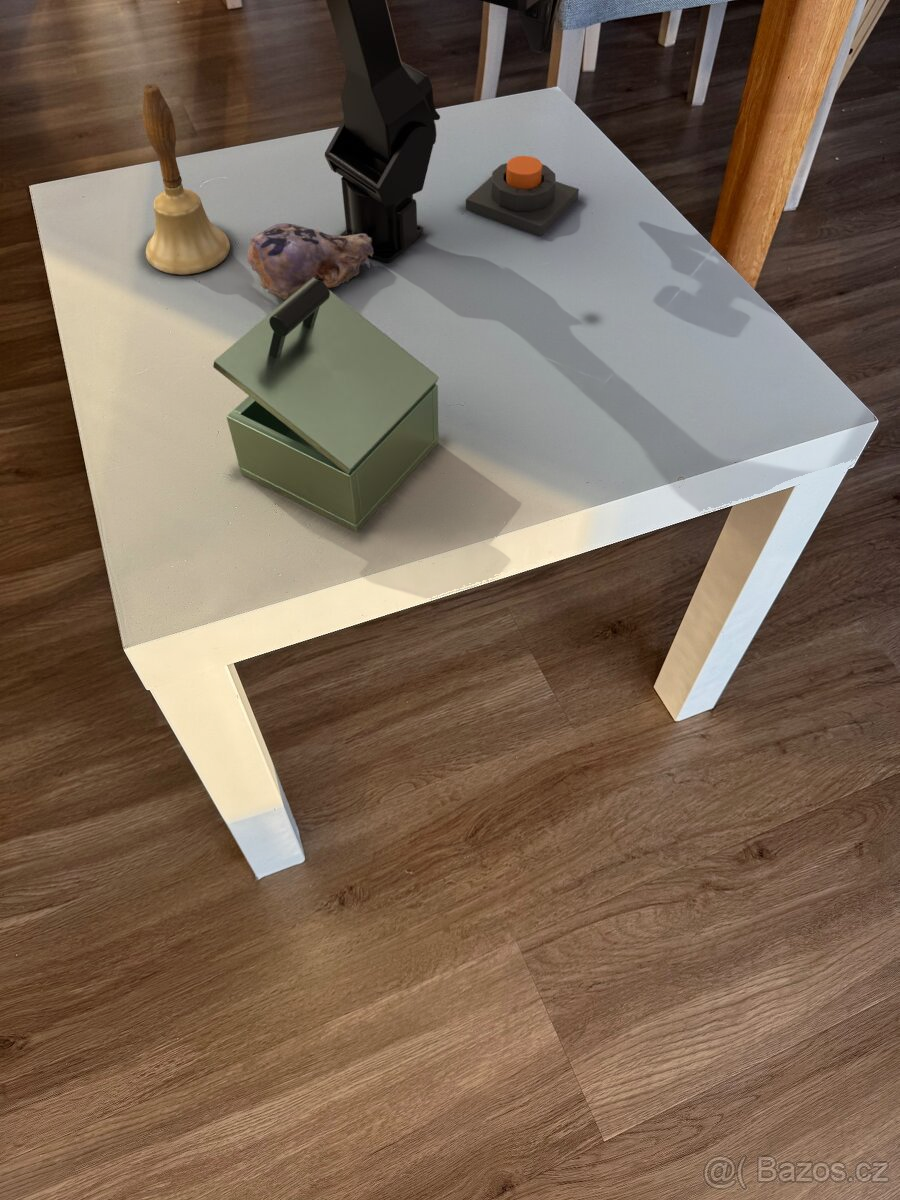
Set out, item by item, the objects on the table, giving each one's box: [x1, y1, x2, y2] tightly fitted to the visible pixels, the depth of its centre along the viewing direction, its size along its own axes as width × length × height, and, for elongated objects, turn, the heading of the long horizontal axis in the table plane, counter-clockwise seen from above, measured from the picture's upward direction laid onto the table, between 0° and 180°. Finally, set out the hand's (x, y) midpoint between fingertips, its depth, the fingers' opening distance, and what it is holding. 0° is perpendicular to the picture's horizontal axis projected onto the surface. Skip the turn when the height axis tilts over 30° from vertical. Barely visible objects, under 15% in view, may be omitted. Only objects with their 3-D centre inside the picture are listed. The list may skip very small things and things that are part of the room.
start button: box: [506, 155, 543, 189], centre depth 97 cm, size 4×4×2 cm
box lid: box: [212, 277, 440, 474], centre depth 69 cm, size 12×12×5 cm
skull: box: [247, 222, 374, 300], centre depth 90 cm, size 12×8×6 cm, turn 105°
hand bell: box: [142, 83, 231, 276], centre depth 88 cm, size 8×8×16 cm
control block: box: [465, 162, 580, 237], centre depth 98 cm, size 9×8×3 cm
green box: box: [226, 383, 439, 533], centre depth 75 cm, size 12×12×6 cm
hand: (538, 50), depth 94 cm, fingers closed
